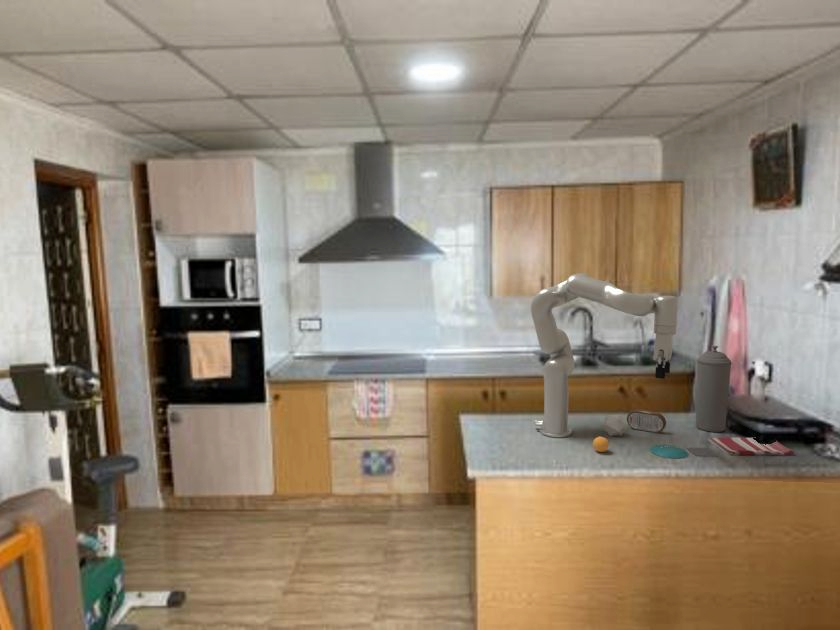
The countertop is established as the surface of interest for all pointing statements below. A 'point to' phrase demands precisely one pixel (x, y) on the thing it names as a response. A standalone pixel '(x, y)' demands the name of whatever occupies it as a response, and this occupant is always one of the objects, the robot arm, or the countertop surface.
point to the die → (614, 425)
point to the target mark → (669, 451)
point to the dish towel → (749, 447)
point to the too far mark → (702, 452)
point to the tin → (646, 421)
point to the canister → (712, 390)
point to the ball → (601, 444)
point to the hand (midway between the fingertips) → (662, 375)
